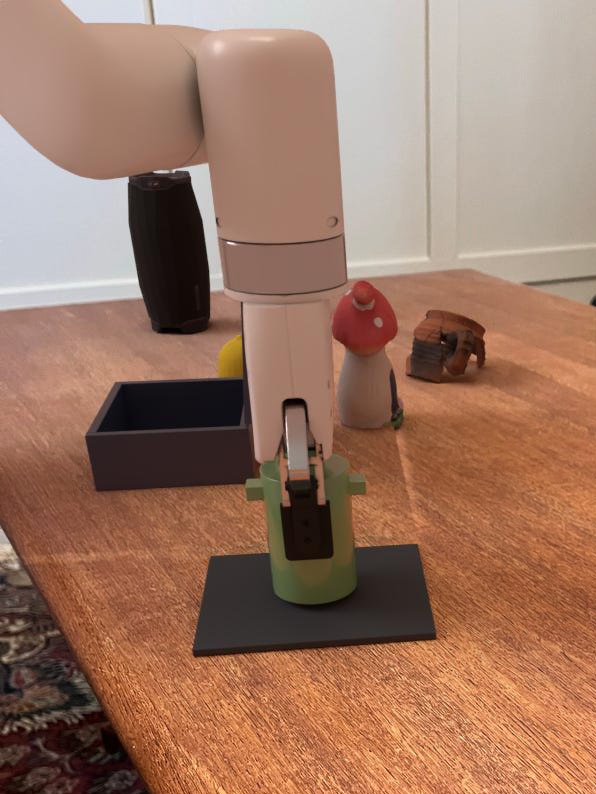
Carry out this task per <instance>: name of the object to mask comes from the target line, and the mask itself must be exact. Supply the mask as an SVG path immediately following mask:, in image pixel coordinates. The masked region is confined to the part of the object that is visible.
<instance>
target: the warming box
mask: <svg viewBox="0 0 596 794" xmlns="http://www.w3.org/2000/svg"><path fill="white" fill-rule="evenodd" d="M84 440H85V444H86V450H87V453H88V459H89V463H90V464H89V465H90V468H91V473H92V477H93V478H92V479H93V482H94V488H95V491H96V492H113V491H114V492H115V491H132V490H133V491H134V490H135V491H136V490H153V489H169V488H170V489H172V488H173V489H175V488H191V487H208V486H209V487H211V486H227V485H228V486H230V485H246V480H247V479H257V471H258V470H257V469H258V463H259V462H258V461H257V460H256V459H255V448H254V436H253V425H252V424H245V423H244V393H243V377H226V378H219V377H202V378H201V377H200V378H179V379H155V380H129V381H128V380H127V381H115V382H114V383H113V385H112V386H111V389H110V390H109V392H108V394H107V396H106V398H105V399H104V401H103V403H102V404H101V406H100V408H99V410H98V411H97V414H96V415H95V416H94V419H93V420H92V422H91V424H90V425H89V428H88V430H87V431H86V433H85V435H84Z"/></svg>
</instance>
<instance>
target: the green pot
mask: <svg viewBox="0 0 596 794" xmlns="http://www.w3.org/2000/svg"><path fill="white" fill-rule="evenodd" d="M308 455H309V456H316V451H308ZM285 457H288V453H285ZM322 458H323V457H322ZM278 461H279V457H278V454H276V456H275V459H274V461H267V463H266V465H262V464H260V466H259V468H258V471H259V478H258V477H257V478H256V479H247V480H246V484H245V485H244V486H245V488H244V489H245V497H246V501H247V502H255V501H262V506H263V514H264V522H265V531H266V539H267V548H268V553H269V558H270V566H271V575H272V583H273V590H274V592H275V593H276V595H277V596H278V597H280V598H281V599H283V600H286V601H289V602H292V603H297V604H323V603H328V602H333V601H336V600H339V599H341V598H343V597H346V596H347V595H349V594H350V593H351V592H353V591H354V589H355V588H356V586H357V566H356V552H355V547H356V539H355V537H356V536H355V526H354V525H355V524H354V511H353V509H354V508H353V496H365V495H367V482H366V474H365V472H359V473H357V472H356V473H351V467H350V466H351V465H350V462H349V461H348V459H347V458H345V457H344V456H343V455H340V454H337V453H335V452H332V456H331V457H330V458H329V459H328V460H326V461H325V462H323V472H324V485H325V498H326V500H330V510H331V523H332V535H333V547H334V555H333V557H332V558H329V559H316V560H300V561H289V560H287V559H286V557H285V549H284V540H283V531H282V522H281V513H280V503H282V493H281V481H280V469H279V463H278ZM309 467H310V475H314V477H315V466H309ZM315 479H316V477H315ZM316 492H317V489H316Z"/></svg>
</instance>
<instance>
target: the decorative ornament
mask: <svg viewBox="0 0 596 794" xmlns="http://www.w3.org/2000/svg"><path fill="white" fill-rule="evenodd" d="M331 330H332V338H333V340H336V341H337V342H338V343H340V344H342V345H343V347H344V349H345V351H344V356H343V359H342V363H341V366H340V371H339V375H338V378H337V379H338V381H337V386H336V387H337V388H336V407H337V410H338V415H339V418H340V421H341V423H342V424H343V425H345V426H346V427H350V428H354V429H362V430H363V429H364V430H365V429H366V430H367V429H368V430H369V429H379V428H385V427H386V428H387V427H390V426H392V427H393V430H396V429H399V428H400V427H401V425H402V422H403V420H404V411H405V410H404V408H405V407H404V402H403V400H402V399H401V398H400V397H399V396H398V385H397V384H398V383H397V378H396V375H395V371H394V366H393V364H392V362H391V360H390V358H389V356H388V354H387V352H386V346H387V345H388V344H389V343H390V342H391V341H393V340H394V339H395V338H396V337H397V336H398V335H397V334H398V331H399V323H398V320H397V316H396V314H395V311H394V308H393V307H392V305H391V304H390V302H389V301H388V299H387V297H386V296H385V294H384V293H382V292H381V291H380V290H379V289H377V288H376V287H374V285H372V283H370V282H369V281H366V280H358V281H357V282H355V283H354V284H353V285H352V287H351V288H350V289H348V291H347V292H346V293H344V294H343V295H342V297H341V299H340V300H339V302H338V304H337V307H336V308H335V310H334V312H333V317H332V318H331Z"/></svg>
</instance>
